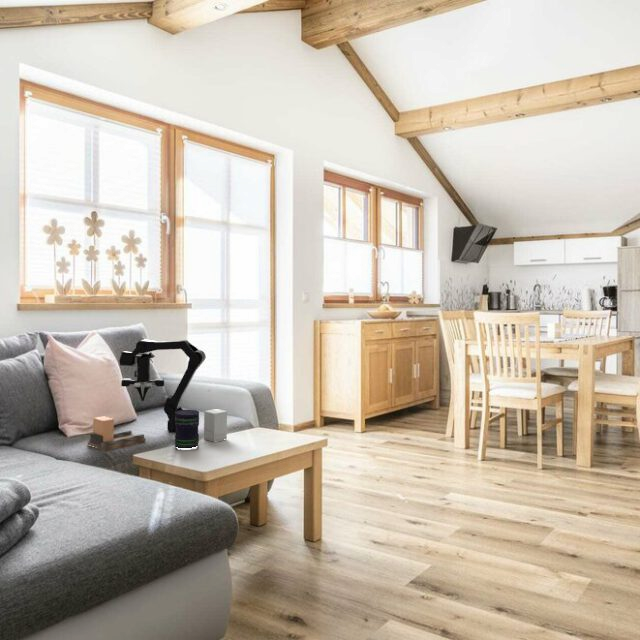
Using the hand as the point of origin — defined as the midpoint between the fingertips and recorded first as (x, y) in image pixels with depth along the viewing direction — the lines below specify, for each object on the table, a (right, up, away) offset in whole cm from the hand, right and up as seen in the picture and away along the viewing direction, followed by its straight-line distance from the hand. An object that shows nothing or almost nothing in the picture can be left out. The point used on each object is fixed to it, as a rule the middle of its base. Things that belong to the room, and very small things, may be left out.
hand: (142, 401), depth 297 cm
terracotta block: (-8, -13, -29) cm, 33 cm away
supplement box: (+35, -16, -12) cm, 40 cm away
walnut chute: (-4, -15, -24) cm, 29 cm away
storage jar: (+25, -16, -26) cm, 40 cm away
